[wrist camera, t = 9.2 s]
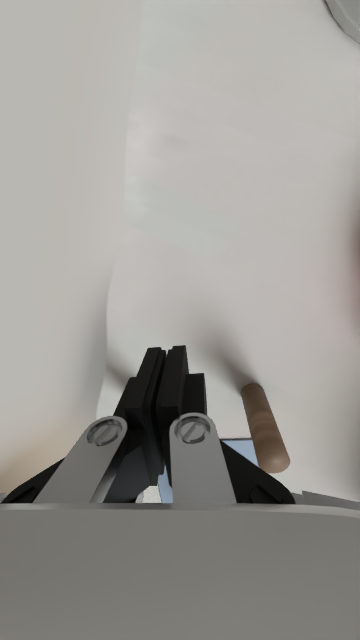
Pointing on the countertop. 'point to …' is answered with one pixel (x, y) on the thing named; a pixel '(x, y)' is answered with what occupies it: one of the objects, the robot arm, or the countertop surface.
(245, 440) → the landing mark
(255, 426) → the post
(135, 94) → the countertop surface
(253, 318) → the countertop surface
